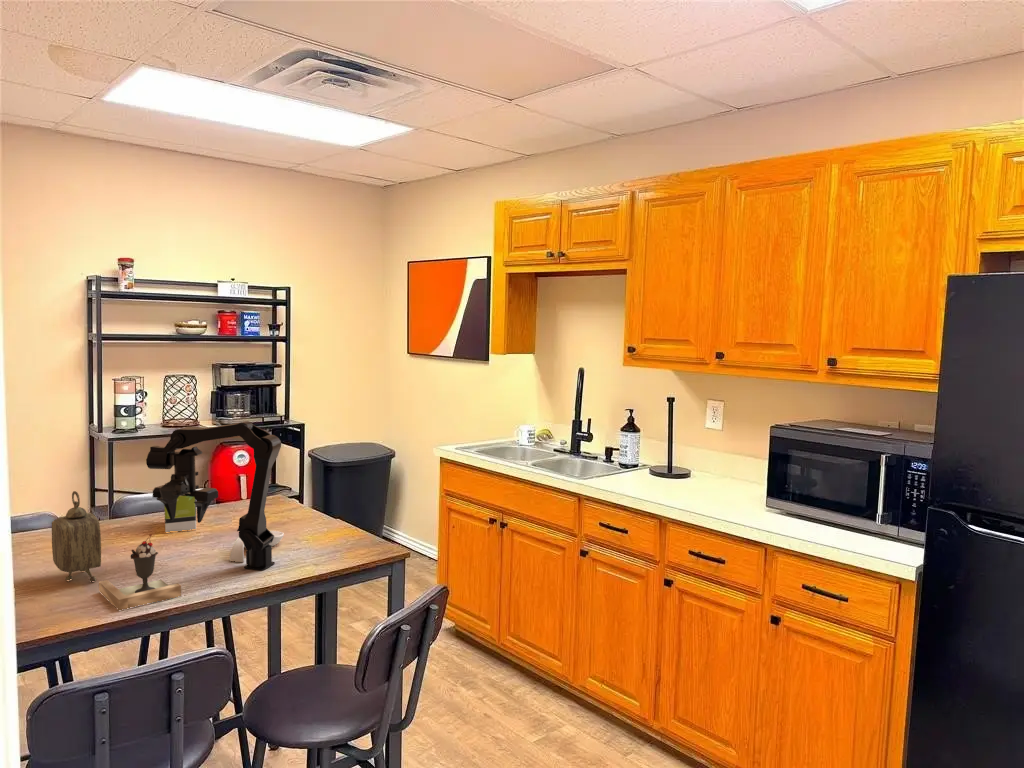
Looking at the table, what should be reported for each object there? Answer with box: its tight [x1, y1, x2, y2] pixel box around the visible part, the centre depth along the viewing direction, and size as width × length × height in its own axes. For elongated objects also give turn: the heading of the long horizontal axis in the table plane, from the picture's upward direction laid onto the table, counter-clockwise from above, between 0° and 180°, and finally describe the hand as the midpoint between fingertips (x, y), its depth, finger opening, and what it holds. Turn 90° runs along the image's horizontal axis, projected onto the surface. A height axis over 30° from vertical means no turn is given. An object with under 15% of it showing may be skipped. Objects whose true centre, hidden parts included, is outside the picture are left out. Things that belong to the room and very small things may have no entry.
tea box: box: [163, 482, 197, 532], centre depth 255 cm, size 15×10×15 cm
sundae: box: [129, 534, 159, 593], centre depth 193 cm, size 7×7×15 cm
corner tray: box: [98, 579, 182, 611], centre depth 192 cm, size 15×17×3 cm
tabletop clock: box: [51, 490, 102, 583], centre depth 202 cm, size 14×9×25 cm, turn 43°
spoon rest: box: [228, 530, 285, 563], centre depth 231 cm, size 24×12×7 cm, turn 172°
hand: (186, 521), depth 216 cm, fingers open, 9 cm apart
